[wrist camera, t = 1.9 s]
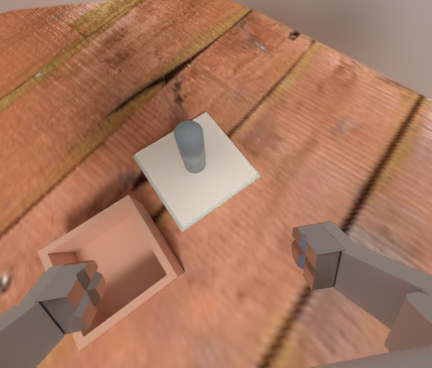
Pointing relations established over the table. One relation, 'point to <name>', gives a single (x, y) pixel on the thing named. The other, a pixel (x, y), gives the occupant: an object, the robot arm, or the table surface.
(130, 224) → the open pink tray box
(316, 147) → the table surface
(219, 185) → the lid
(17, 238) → the table surface
